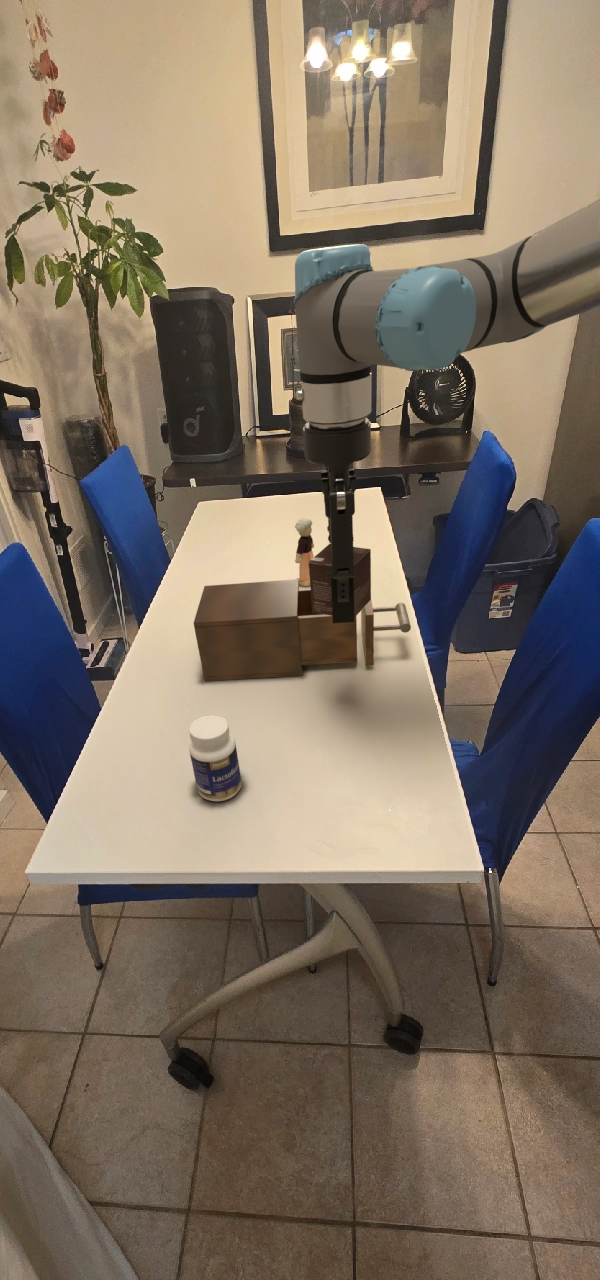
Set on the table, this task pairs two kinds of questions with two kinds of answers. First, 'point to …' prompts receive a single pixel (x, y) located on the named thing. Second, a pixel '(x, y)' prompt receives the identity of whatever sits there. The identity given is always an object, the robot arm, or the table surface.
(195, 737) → the pill bottle
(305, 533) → the grandmother figurine
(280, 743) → the table surface
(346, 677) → the table surface
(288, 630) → the cabinet
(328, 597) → the box
